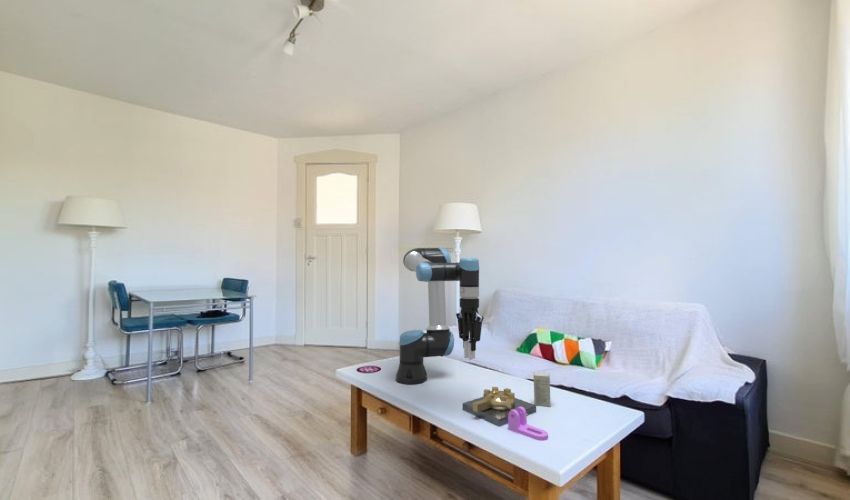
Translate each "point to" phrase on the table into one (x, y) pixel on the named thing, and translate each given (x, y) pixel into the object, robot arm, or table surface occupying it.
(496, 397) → the brass notched disc handle
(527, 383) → the table surface
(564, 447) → the table surface
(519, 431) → the bracket
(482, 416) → the base plate
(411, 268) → the robot arm
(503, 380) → the table surface
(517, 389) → the table surface
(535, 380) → the skincare box
